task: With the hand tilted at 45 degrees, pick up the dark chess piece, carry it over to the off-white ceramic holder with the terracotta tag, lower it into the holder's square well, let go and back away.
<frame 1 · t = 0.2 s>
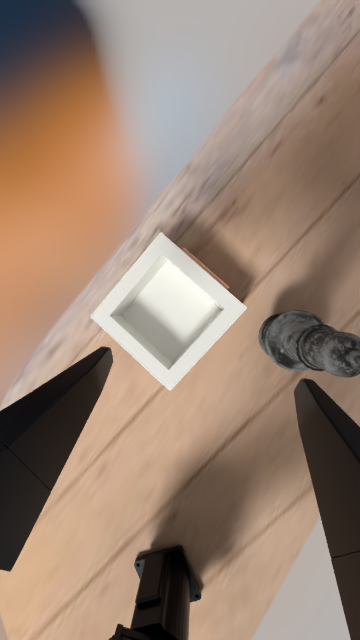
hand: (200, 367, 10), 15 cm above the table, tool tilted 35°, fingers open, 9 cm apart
tagged holder: (171, 312, 25), on the table
dark chess piece: (282, 336, 24), on the table
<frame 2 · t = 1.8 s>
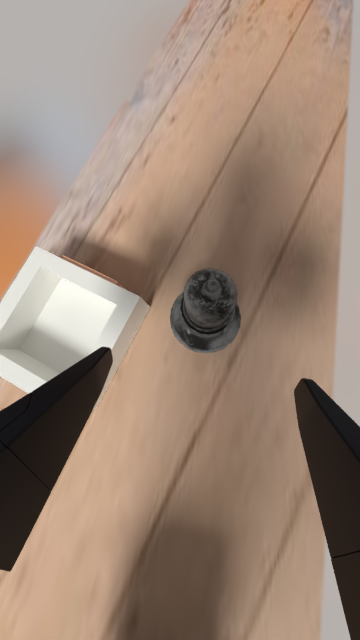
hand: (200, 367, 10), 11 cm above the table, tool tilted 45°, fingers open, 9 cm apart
tagged holder: (78, 331, 22), on the table
dark chess piece: (203, 324, 21), on the table
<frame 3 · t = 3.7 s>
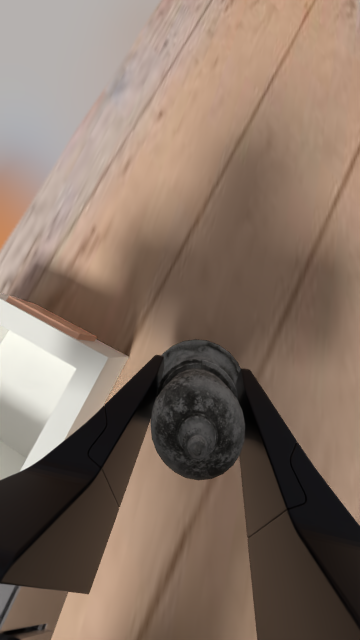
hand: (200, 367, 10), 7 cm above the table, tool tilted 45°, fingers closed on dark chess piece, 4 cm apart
tagged holder: (38, 387, 17), on the table
dark chess piece: (196, 380, 16), on the table, touching gripper
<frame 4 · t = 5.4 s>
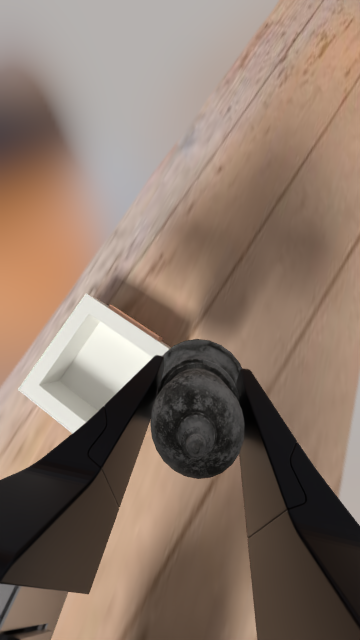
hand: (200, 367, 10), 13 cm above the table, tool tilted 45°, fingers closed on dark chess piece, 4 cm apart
tagged holder: (113, 369, 23), on the table
dark chess piece: (198, 379, 16), point 6 cm above the table, touching gripper
when the fingers open (9 cm above the table, at t = 7.5 s): dark chess piece drops 1 cm, resting on tagged holder.
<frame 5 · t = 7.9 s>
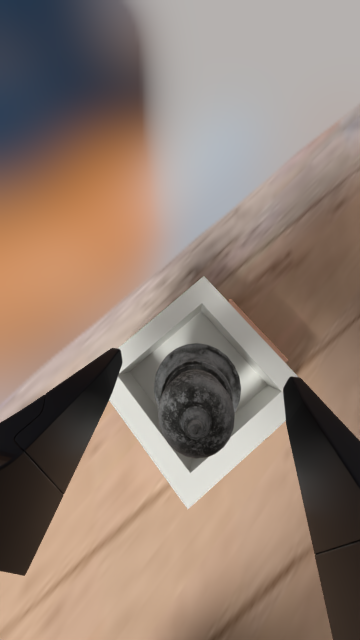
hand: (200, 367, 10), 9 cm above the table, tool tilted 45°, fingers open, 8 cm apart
tagged holder: (196, 376, 19), on the table
dark chess piece: (196, 380, 18), point 1 cm above the table, touching tagged holder
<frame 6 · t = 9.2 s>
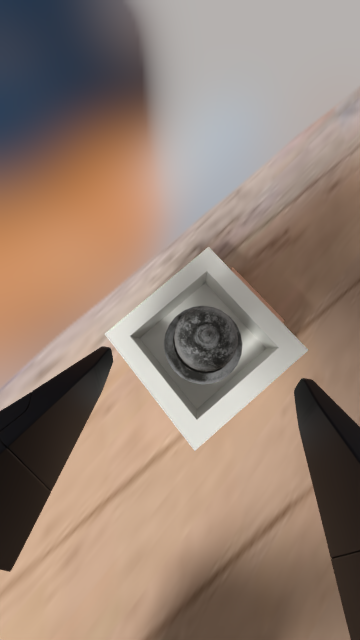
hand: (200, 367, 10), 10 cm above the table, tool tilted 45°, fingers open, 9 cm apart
tagged holder: (200, 343, 20), on the table
dark chess piece: (201, 345, 19), point 1 cm above the table, touching tagged holder
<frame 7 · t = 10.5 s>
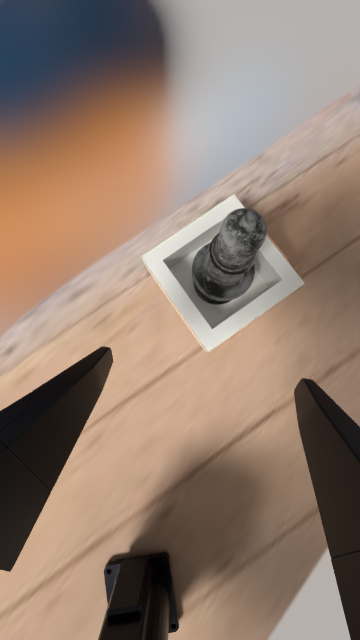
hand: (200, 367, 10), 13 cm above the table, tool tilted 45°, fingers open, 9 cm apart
tagged holder: (215, 281, 24), on the table
dark chess piece: (216, 281, 23), point 1 cm above the table, touching tagged holder
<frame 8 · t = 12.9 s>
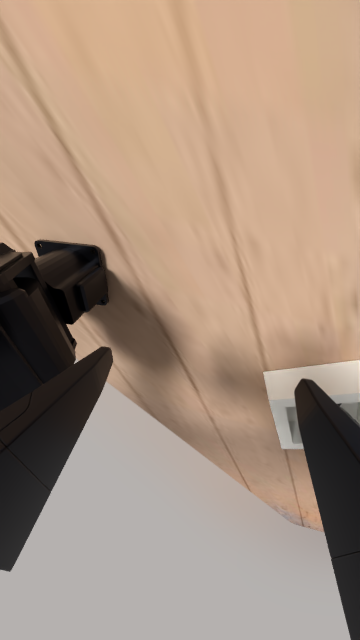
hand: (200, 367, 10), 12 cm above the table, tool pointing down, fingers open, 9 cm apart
tagged holder: (316, 394, 27), on the table
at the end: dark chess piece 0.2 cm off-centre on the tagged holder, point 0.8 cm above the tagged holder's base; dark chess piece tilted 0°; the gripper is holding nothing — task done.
